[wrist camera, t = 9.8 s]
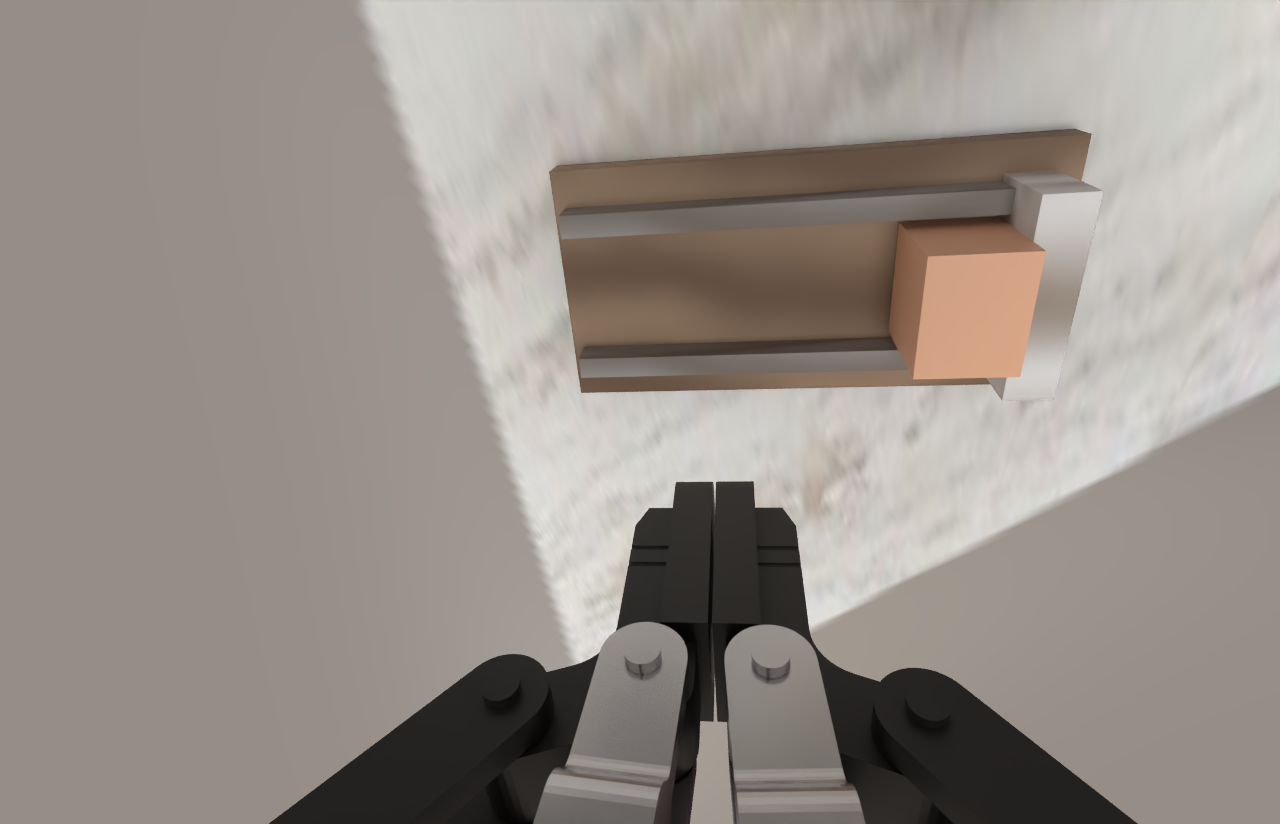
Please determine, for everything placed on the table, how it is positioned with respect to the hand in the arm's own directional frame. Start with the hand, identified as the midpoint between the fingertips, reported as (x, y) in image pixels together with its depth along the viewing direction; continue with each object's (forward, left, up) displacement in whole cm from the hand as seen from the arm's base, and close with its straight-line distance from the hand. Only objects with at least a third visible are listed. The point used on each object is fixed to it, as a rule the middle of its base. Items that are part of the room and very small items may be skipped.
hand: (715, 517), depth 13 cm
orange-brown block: (+2, +9, -20) cm, 22 cm away
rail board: (+2, +3, -21) cm, 22 cm away
